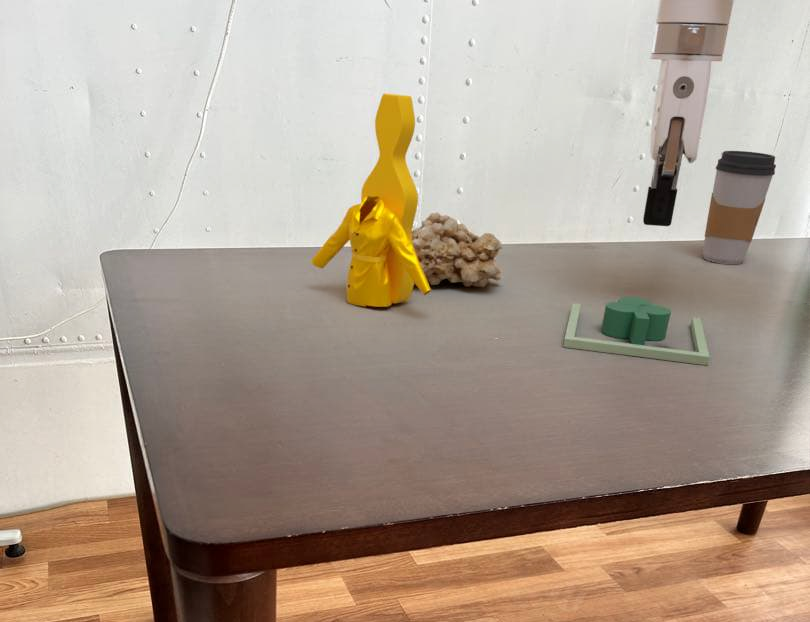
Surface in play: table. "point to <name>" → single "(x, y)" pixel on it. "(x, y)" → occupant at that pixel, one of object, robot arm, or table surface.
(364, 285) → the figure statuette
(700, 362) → the pocket
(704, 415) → the table surface
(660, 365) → the table surface
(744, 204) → the coffee cup
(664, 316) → the club
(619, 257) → the table surface
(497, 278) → the mineral formation
